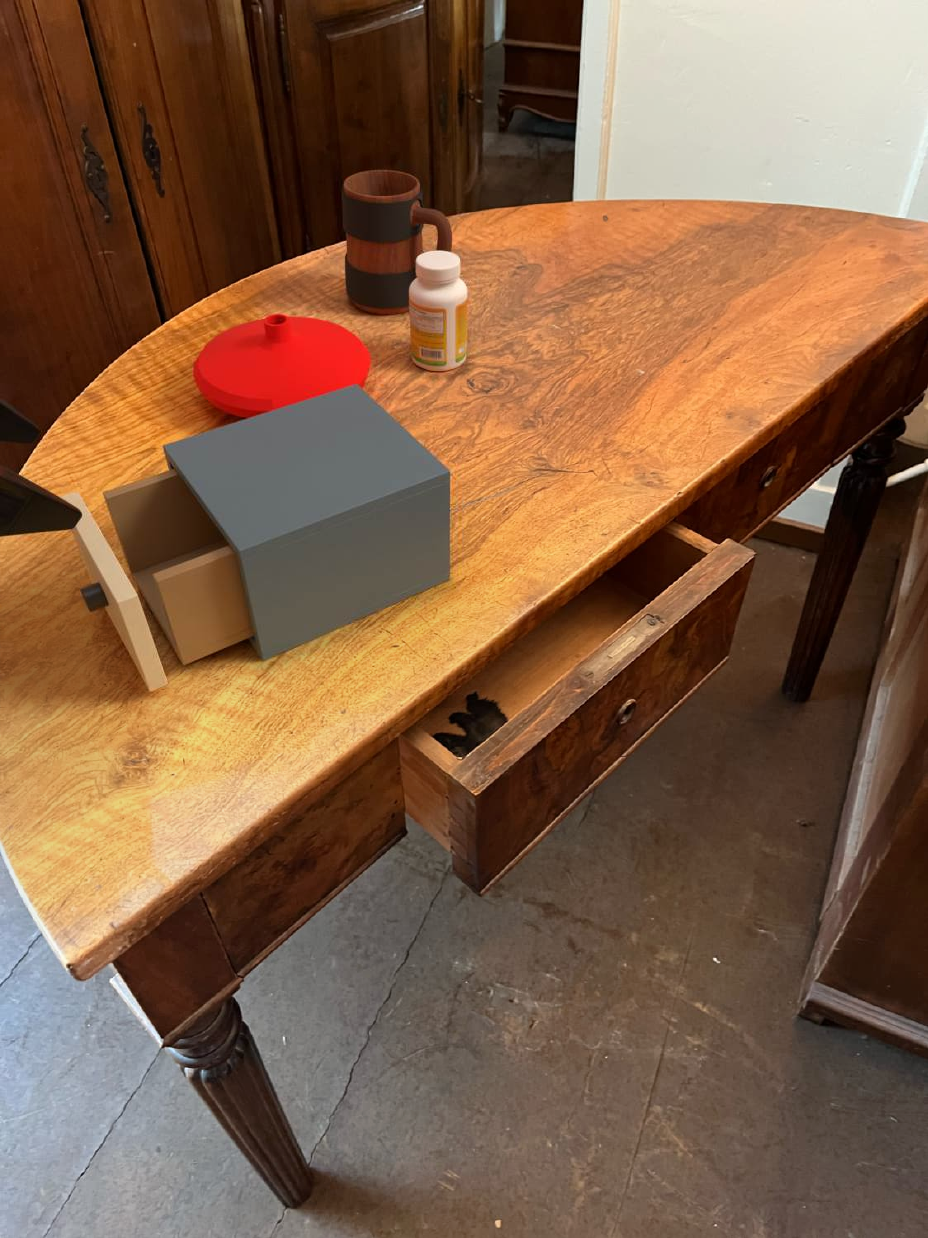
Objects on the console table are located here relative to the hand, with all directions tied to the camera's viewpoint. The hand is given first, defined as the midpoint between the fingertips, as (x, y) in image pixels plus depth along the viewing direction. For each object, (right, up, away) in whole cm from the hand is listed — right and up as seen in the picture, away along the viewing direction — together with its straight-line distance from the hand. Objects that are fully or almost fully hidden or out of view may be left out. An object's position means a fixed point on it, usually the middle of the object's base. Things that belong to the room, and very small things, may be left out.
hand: (55, 475), depth 49 cm
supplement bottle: (+20, +17, +37) cm, 45 cm away
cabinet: (+12, -4, +15) cm, 20 cm away
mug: (+16, +26, +45) cm, 54 cm away
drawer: (+5, -7, +11) cm, 14 cm away
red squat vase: (+7, +13, +32) cm, 35 cm away
